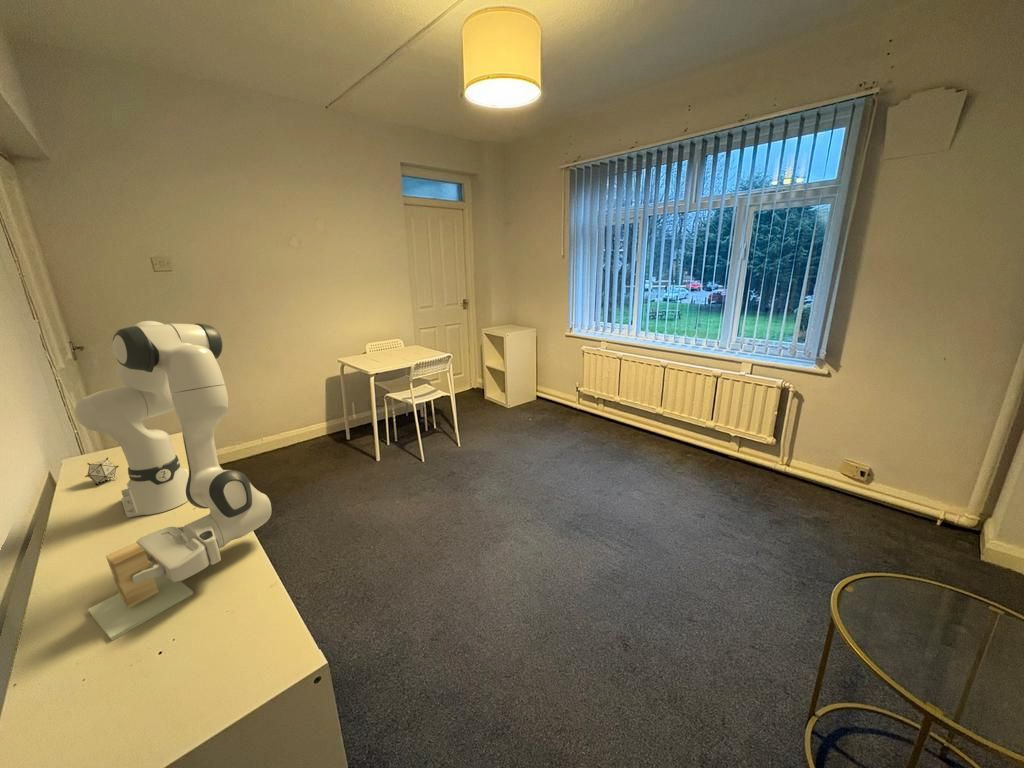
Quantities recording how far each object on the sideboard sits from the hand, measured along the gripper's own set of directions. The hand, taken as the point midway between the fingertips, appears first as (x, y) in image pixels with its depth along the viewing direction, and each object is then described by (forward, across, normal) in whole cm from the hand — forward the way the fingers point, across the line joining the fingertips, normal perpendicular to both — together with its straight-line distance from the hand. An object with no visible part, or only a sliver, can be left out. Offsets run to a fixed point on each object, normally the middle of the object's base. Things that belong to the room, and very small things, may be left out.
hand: (126, 574), depth 88 cm
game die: (-16, -82, +9) cm, 84 cm away
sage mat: (-1, 0, +8) cm, 8 cm away
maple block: (-1, 0, +6) cm, 6 cm away
